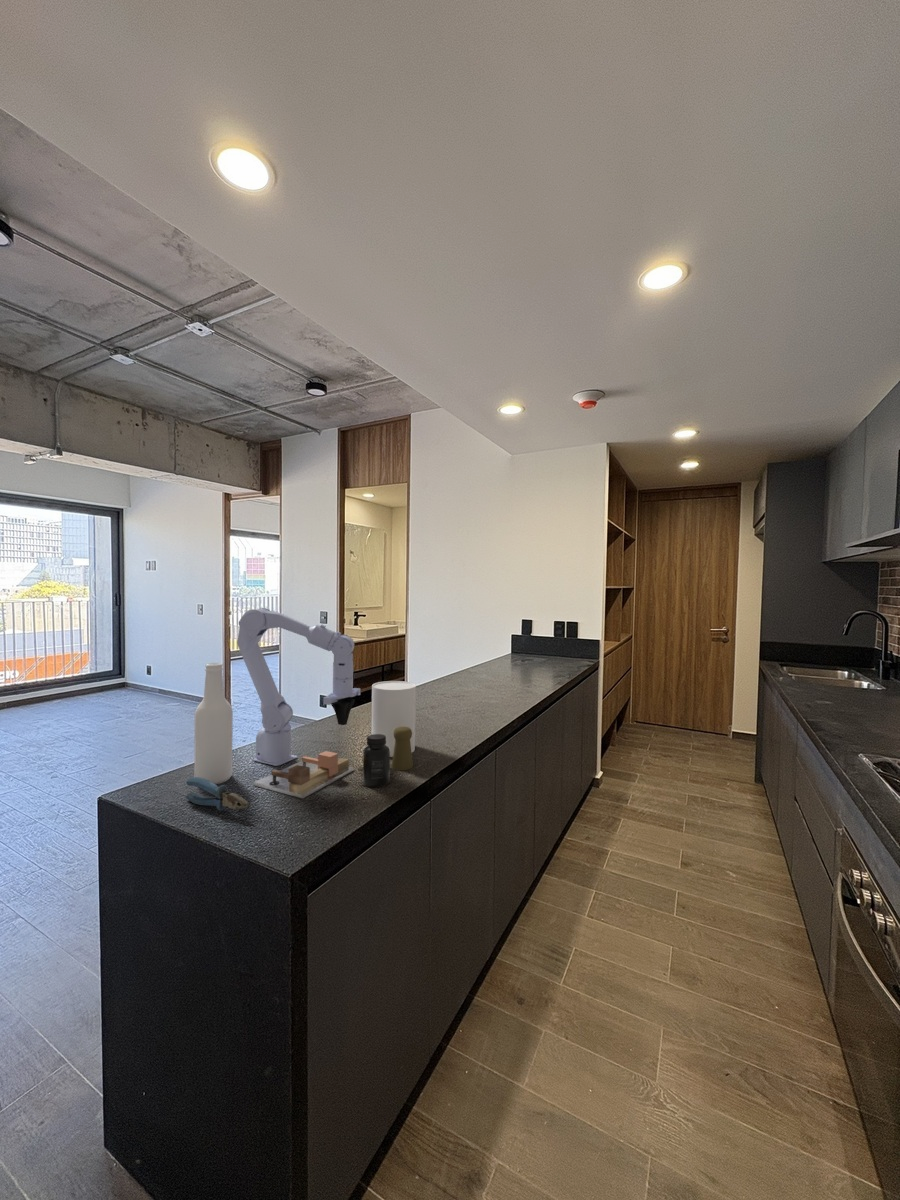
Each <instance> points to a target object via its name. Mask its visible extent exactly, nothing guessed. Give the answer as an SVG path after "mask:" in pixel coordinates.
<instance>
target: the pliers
mask: <svg viewBox="0 0 900 1200" xmlns="http://www.w3.org/2000/svg"><path fill="white" fill-rule="evenodd" d="M186 785H187V786H191V787H197V788H200V789H202V790H204V791H206V792H208V793H210V794H212V795H213V796H204V795H201V794H198V793H197V792H195V791H189V792H188V793H187V794H186V799H187V800H188V801H189V802H190V803H193V804H195V805H199V806H216V809H217V810H218V811H224V810H225V809H226V808H227V807H228V808H229V809H231V810H234V811H235V810H240V809H246V808H248V807H250V806H249V805H250V804H249V803H250V802H249V801H247V799H245V798H244V797H242V796H241V795H240V794H237V793H233V792H229V791H228V787H227V786H226V785H225V784H221V785H220V786H218V784H216V785H215V784H214V783H212V782H210V781H209V780H207V779H204V778H200V777H194V776H192V777H189V778H188V779H187V780H186Z"/></svg>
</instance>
